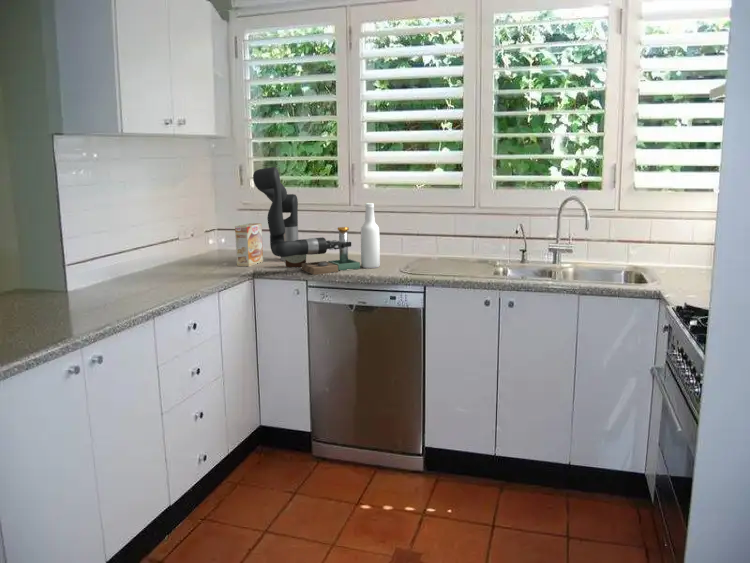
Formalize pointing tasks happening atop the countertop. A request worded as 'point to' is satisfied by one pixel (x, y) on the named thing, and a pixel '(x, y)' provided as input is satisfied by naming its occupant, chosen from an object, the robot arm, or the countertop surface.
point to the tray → (346, 264)
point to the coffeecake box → (249, 244)
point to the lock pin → (342, 238)
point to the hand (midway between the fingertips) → (348, 243)
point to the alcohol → (370, 240)
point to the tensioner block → (319, 267)
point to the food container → (295, 261)
